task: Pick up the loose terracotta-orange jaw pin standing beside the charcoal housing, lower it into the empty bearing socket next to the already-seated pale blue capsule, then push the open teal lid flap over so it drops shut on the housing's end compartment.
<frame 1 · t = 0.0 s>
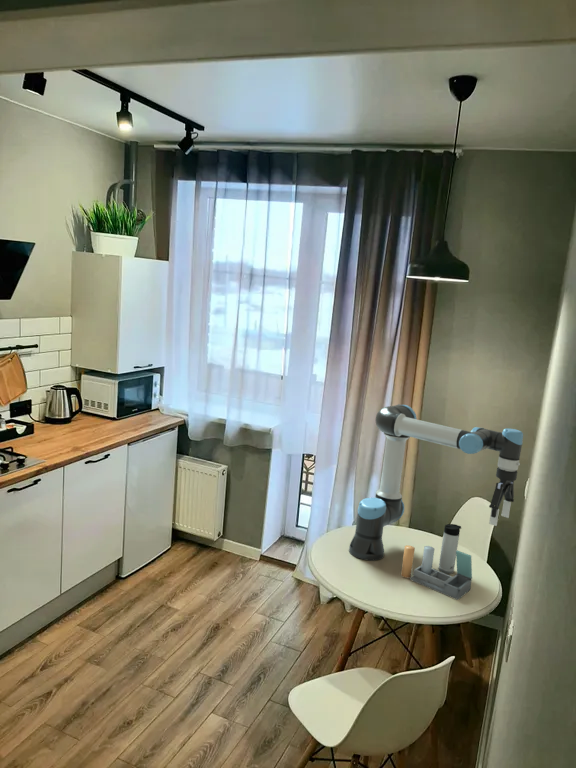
hand: (499, 520, 225), 28 cm above the table, fingers open, 13 cm apart
housing: (439, 584, 227), on the table
pale blue capsule: (425, 578, 231), resting on housing
jaw pin: (405, 575, 232), on the table
lid: (464, 565, 224), point 10 cm above the table, hinge at 66.2°
travel mug: (446, 570, 240), on the table
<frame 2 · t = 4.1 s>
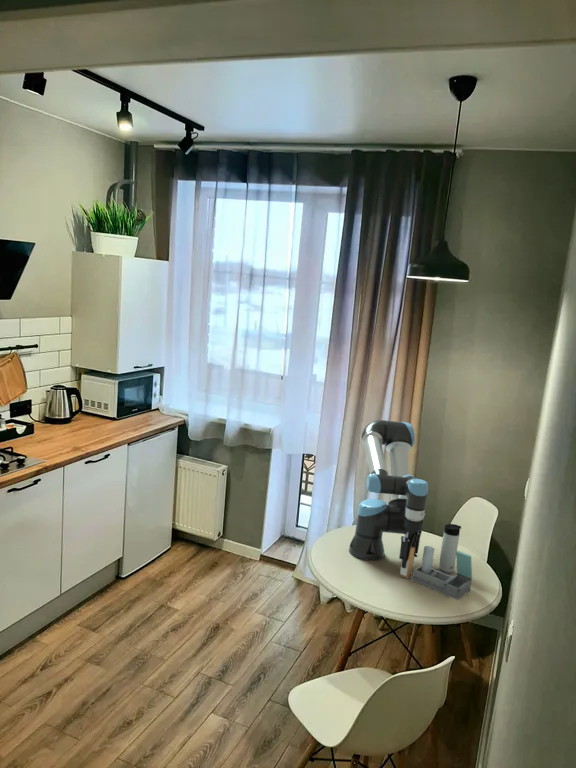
hand: (406, 572, 231), 1 cm above the table, fingers closed on jaw pin, 4 cm apart
jaw pin: (405, 575, 232), on the table, touching gripper
everything else where it was.
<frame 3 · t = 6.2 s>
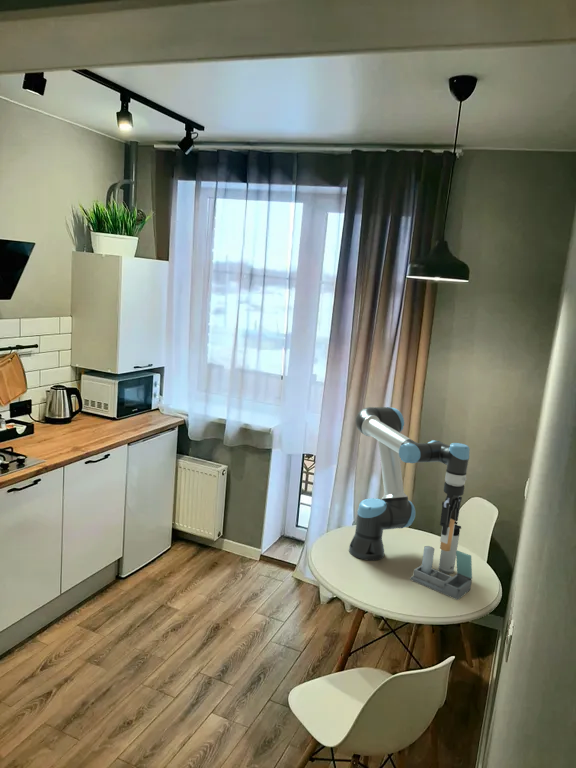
hand: (446, 540, 224), 19 cm above the table, fingers closed on jaw pin, 4 cm apart
jaw pin: (445, 548, 224), point 15 cm above the table, touching gripper
everything else where it was.
when the fingers open (4 cm above the table, at t = 8.4 s): jaw pin stays where it is, resting on housing.
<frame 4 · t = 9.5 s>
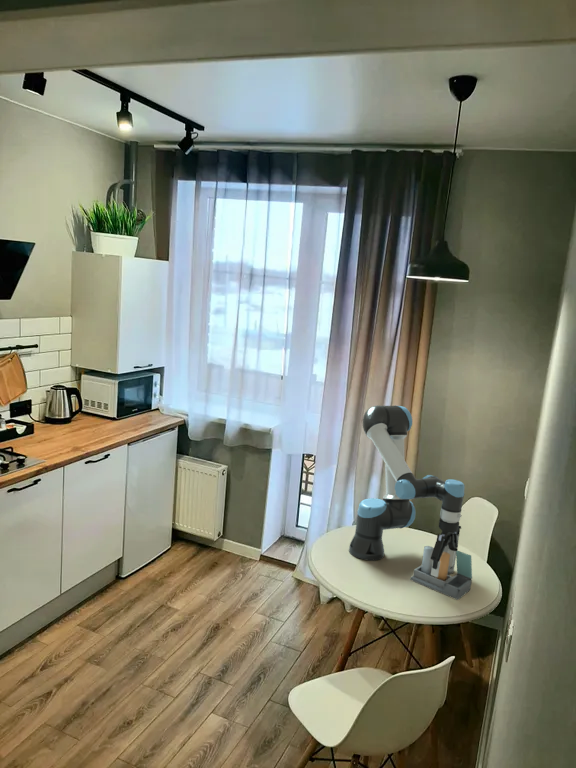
hand: (441, 570, 226), 6 cm above the table, fingers open, 13 cm apart
jaw pin: (440, 582, 226), point 1 cm above the table, touching housing
everything else where it was.
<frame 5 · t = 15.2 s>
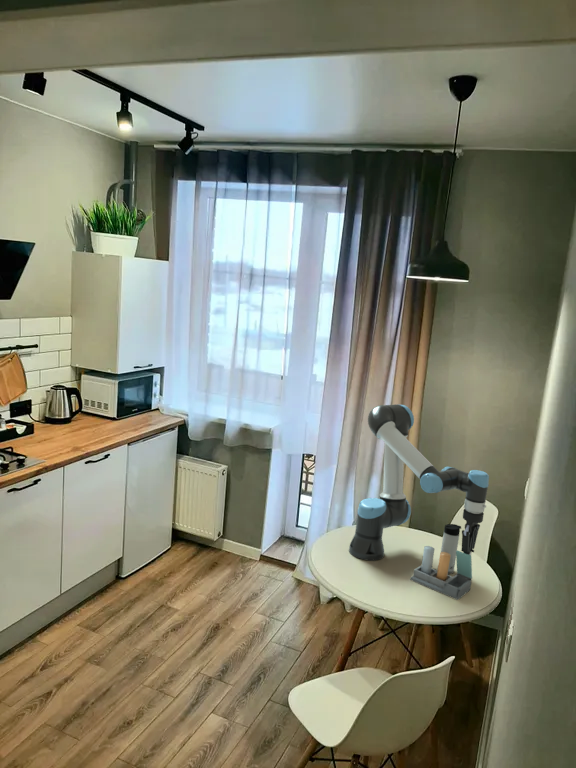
hand: (465, 567, 225), 8 cm above the table, fingers closed
lid: (464, 565, 224), point 10 cm above the table, hinge at 66.0°, touching gripper
everything else where it was.
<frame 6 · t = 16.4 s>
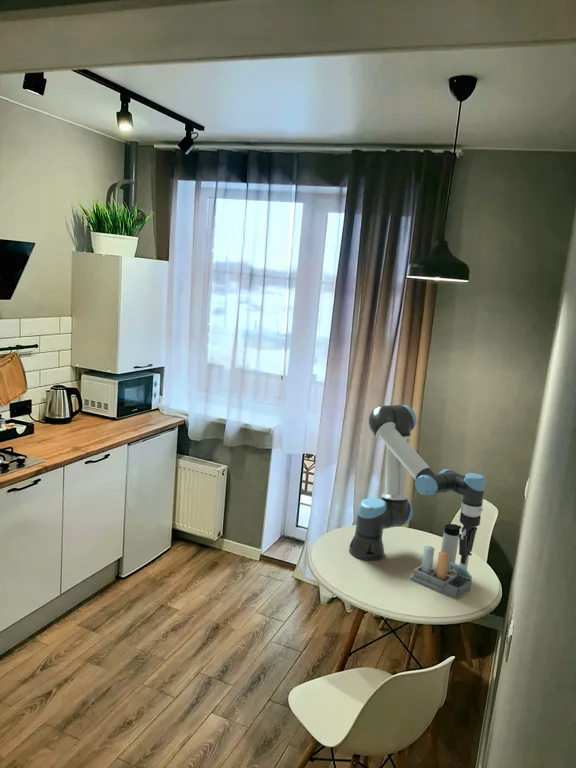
hand: (463, 570, 224), 8 cm above the table, fingers closed
lid: (461, 570, 222), point 8 cm above the table, hinge at 36.5°, touching gripper
everything else where it was.
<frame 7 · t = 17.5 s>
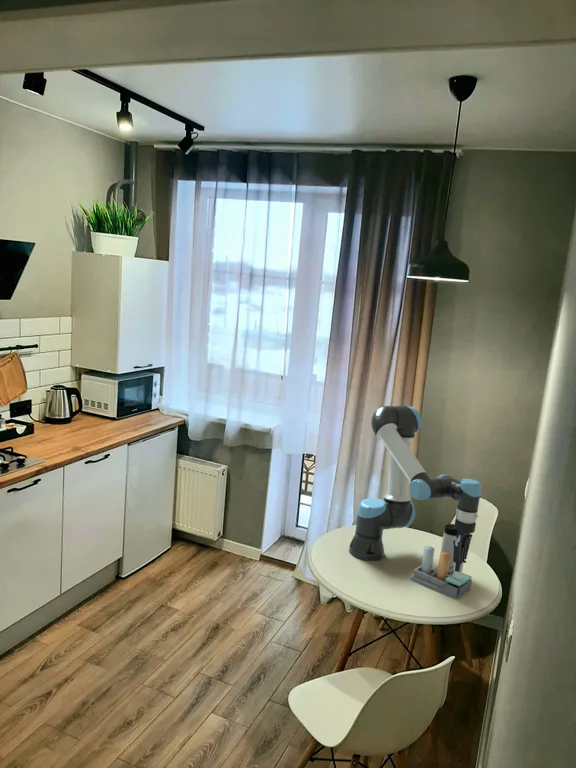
hand: (457, 578, 220), 6 cm above the table, fingers closed
lid: (458, 578, 222), point 5 cm above the table, hinge at 4.1°, touching gripper
everything else where it was.
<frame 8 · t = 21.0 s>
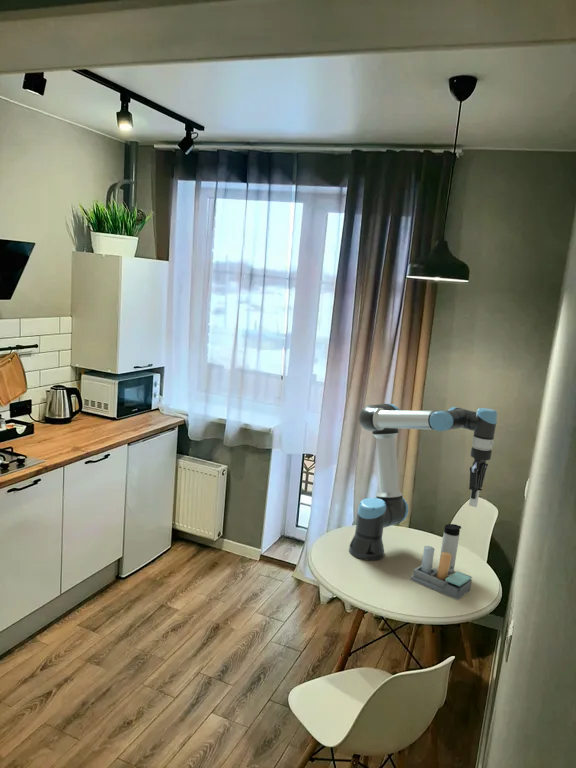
hand: (472, 505, 226), 32 cm above the table, fingers closed
lid: (458, 578, 222), point 5 cm above the table, hinge at 4.0°
everything else where it was.
at the end: jaw pin 0.2 cm off-centre on the housing, point 1.1 cm above the housing's base; jaw pin tilted 3°; lid at +4° (first picture: +66°) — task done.
